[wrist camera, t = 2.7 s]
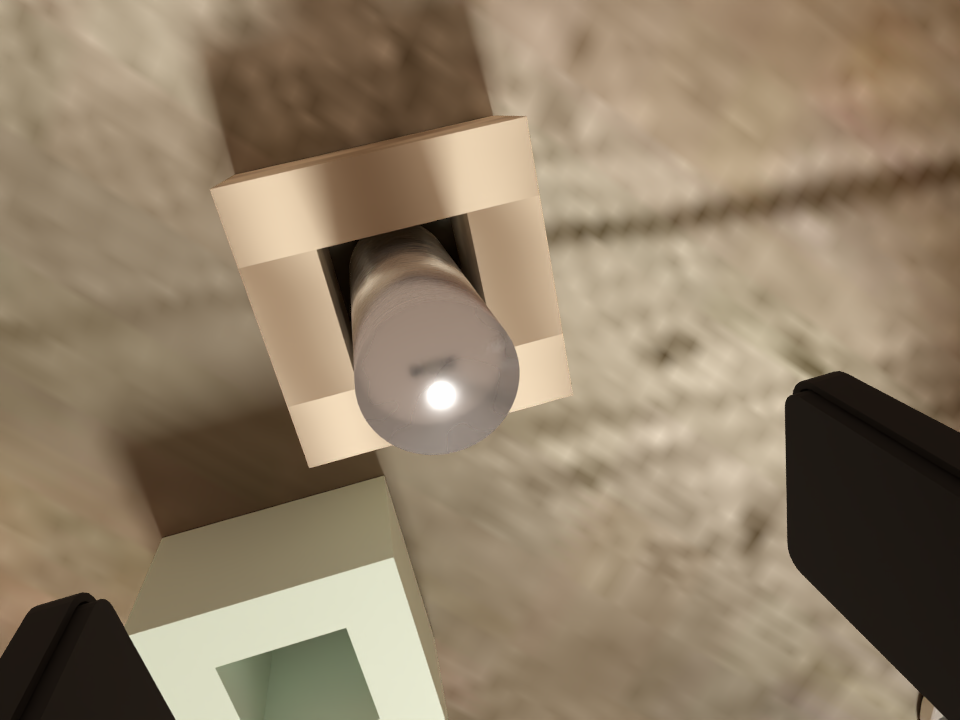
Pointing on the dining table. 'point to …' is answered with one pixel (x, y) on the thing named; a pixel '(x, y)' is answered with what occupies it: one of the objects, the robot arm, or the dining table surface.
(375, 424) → the steel peg
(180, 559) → the block
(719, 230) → the dining table surface
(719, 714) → the dining table surface
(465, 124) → the socket block
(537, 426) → the dining table surface
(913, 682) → the robot arm
